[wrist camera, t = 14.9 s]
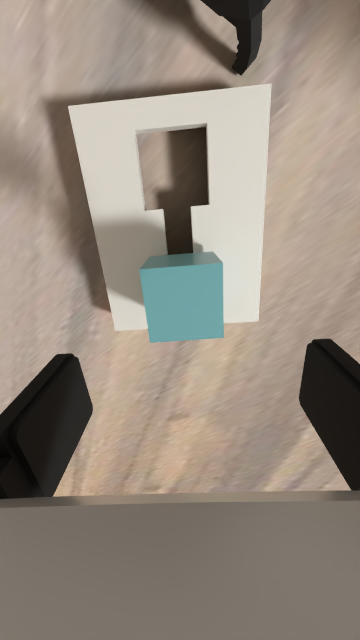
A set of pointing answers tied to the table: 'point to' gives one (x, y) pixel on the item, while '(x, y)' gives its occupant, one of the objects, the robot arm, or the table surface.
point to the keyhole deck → (207, 220)
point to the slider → (183, 296)
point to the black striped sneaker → (242, 26)
